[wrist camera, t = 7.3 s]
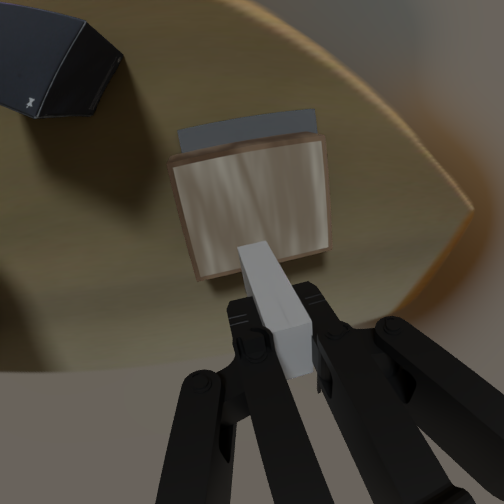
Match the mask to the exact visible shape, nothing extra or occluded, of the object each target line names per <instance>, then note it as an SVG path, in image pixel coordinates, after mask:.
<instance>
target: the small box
mask: <svg viewBox="0 0 504 504" xmlns="http://www.w3.org/2000/svg"><path fill="white" fill-rule="evenodd" d="M122 58H123V54H122V53H121V52H120V51H119V50H118V49H116V48H115V47H114V46H113V45H112V44H111V43H110V42H109V41H107V40H106V39H105V38H104V37H103V36H102V35H101V34H100V33H98V32H97V31H96V30H95V29H94V28H93V27H91V26H90V25H89V24H88V23H87V22H86V21H85V20H82V19H78V18H75V17H71V16H67V15H64V14H60V13H56V12H51V11H47V10H42V9H38V8H33V7H28V6H22V5H16V4H10V3H4V2H0V105H2V106H4V107H7V108H9V109H11V110H14V111H16V112H19V113H21V114H23V115H26V116H28V117H31V118H33V119H39V118H55V117H66V116H87V117H90V116H92V115H93V114H94V112H95V110H96V107H97V104H98V102H99V101H100V98H101V96H102V94H103V92H104V91H105V88H106V86H107V84H108V83H109V81H110V79H111V77H112V75H113V74H114V73H115V72H116V70H117V68H118V66H119V64H120V61H121V60H122Z"/></svg>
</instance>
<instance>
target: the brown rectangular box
mask: <svg viewBox="0 0 504 504" xmlns="http://www.w3.org/2000/svg"><path fill="white" fill-rule="evenodd" d="M167 168H168V173H169V177H170V181H171V185H172V190H173V194H174V198H175V202H176V206H177V210H178V214H179V218H180V222H181V225H182V229H183V233H184V237H185V240H186V244H187V248H188V251H189V255H190V259H191V262H192V266H193V269H194V273H195V276H196V280H197V282H199V281H203V280H208V279H212V278H216V277H221V276H225V275H229V274H234V273H238V272H242V269H241V264H240V259H239V254H238V249H237V247H240V246H244V245H248V244H253V243H257V242H262V241H266V242H267V243H268V245H269V247H270V249H271V250H272V252H273V254H274V256H275V257H276V259H277V261H278V263H280V262H285V261H289V260H293V259H297V258H301V257H305V256H309V255H314V254H318V253H322V252H326V251H330V250H332V222H331V203H330V187H329V173H328V160H327V149H326V139H325V135H321V134H316V133H312V132H307V131H305V132H297V133H290V134H282V135H275V136H269V137H262V138H256V139H250V140H244V141H239V142H233V143H228V144H223V145H218V146H213V147H208V148H203V149H199V150H194V151H190V152H185V153H181V154H177V155H173V156H170V157H169V159H168V162H167Z"/></svg>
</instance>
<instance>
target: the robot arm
mask: <svg viewBox="0 0 504 504" xmlns="http://www.w3.org/2000/svg"><path fill="white" fill-rule="evenodd" d="M237 249H238V254H239V259H240V264H241V269H242V274H243V280H244V285H245V290H246V293H247V296H248V297H246V298H242V299H237V300H233V301H230V302H229V305H228V307H227V314H228V318H229V323H230V328H231V332H232V337H233V343H232V344H233V347H234V351H235V358H234V360H233V361H232V363H231V364H230V365H229V366H227V367H226V368H224V369H222V370H220V371H218V372H217V373H215V372H213V371H211V370H198V371H195V372H193V373H191V374H189V376H187V377H186V378H185V380H184V382H183V384H182V387H181V391H180V395H179V399H178V403H177V407H176V412H175V416H174V420H173V425H172V429H171V433H170V438H169V442H168V446H167V451H166V455H165V460H164V465H163V470H162V474H161V478H160V483H159V488H158V493H157V498H156V503H155V504H230V498H231V485H232V474H233V462H234V450H235V437H236V426H237V422H238V421H240V420H242V419H244V418H246V417H247V416H249V415H251V419H252V423H253V427H254V431H255V434H256V439H257V443H258V446H259V450H260V454H261V458H262V461H263V465H264V469H265V472H266V476H267V480H268V483H269V487H270V490H271V494H272V497H273V501H274V504H334V501H333V499H332V496H331V494H330V491H329V489H328V486H327V484H326V481H325V479H324V476H323V474H322V471H321V468H320V466H319V463H318V461H317V458H316V456H315V453H314V451H313V448H312V445H311V443H310V441H309V438H308V435H307V433H306V430H305V427H304V425H303V422H302V420H301V417H300V414H299V412H298V409H297V407H296V404H295V402H294V399H293V396H292V393H291V391H290V388H289V386H288V383H287V380H288V379H292V378H295V377H299V376H302V375H306V374H309V373H312V372H313V365H314V367H315V369H316V371H317V391H318V393H320V392H321V389H322V392H323V394H324V396H325V398H326V401H327V403H328V405H329V407H330V409H331V411H332V414H333V415H334V418H335V420H336V422H337V424H338V427H339V429H340V431H341V433H342V435H343V437H344V440H345V442H346V444H347V446H348V448H349V451H350V453H351V455H352V457H353V459H354V461H355V463H356V466H357V468H358V470H359V472H360V475H361V477H362V479H363V481H364V483H365V485H366V488H367V490H368V492H369V494H370V496H371V499H372V501H373V503H374V504H476V503H475V501H474V500H473V498H472V496H471V495H470V494H469V492H467V491H466V490H465V489H463V488H459V487H455V486H454V485H453V484H452V483H451V481H450V480H449V478H448V476H447V475H446V473H445V471H444V470H443V468H442V466H441V465H440V463H439V461H438V459H437V458H436V456H435V455H434V453H433V451H432V450H431V448H430V446H429V445H428V443H427V441H426V440H425V438H424V436H423V435H422V433H421V432H420V430H419V428H420V429H421V430H422V431H423V432H424V433H425V434H426V435H428V436H429V437H430V438H431V439H432V440H433V441H434V442H435V443H436V444H437V445H438V446H439V447H441V449H442V450H443V451H445V452H446V453H447V454H448V455H449V456H450V457H451V458H452V459H453V460H454V461H455V462H456V463H458V464H459V465H460V466H461V467H462V468H463V469H464V470H465V471H466V472H467V473H468V474H469V475H470V476H471V477H473V478H474V479H475V480H476V481H477V482H478V483H479V484H480V485H481V486H482V487H483V488H484V489H486V490H487V491H488V492H490V493H491V494H492V495H493V496H495V497H497V498H498V499H500V500H502V501H504V395H503V394H502V393H501V392H500V391H498V390H497V389H496V388H495V387H493V386H492V385H491V384H489V383H488V382H487V381H486V380H484V379H483V378H482V377H480V376H479V375H478V374H477V373H475V372H474V371H472V370H471V369H470V368H468V367H467V366H466V365H465V364H463V363H462V362H461V361H459V360H458V359H457V358H455V357H454V356H453V355H452V354H450V353H449V352H447V351H446V350H445V349H443V348H442V347H441V346H439V345H438V344H437V343H435V342H434V341H433V340H431V339H430V338H429V337H427V336H426V335H424V334H423V333H422V332H420V331H419V330H417V329H416V328H415V327H413V326H412V325H411V324H409V323H408V322H406V321H405V320H403V319H402V318H400V317H395V316H388V317H384V318H382V319H380V320H379V321H378V322H377V323H376V326H375V328H369V329H354V328H352V327H351V326H350V325H349V324H348V323H345V322H343V321H340V320H339V319H338V317H337V316H336V314H335V313H334V311H333V310H332V308H331V307H330V305H329V304H328V302H327V301H326V300H325V298H324V296H323V295H322V294H321V292H320V291H319V289H318V288H317V286H315V285H314V284H312V283H310V282H308V281H307V282H303V283H299V284H295V285H291V284H290V282H289V280H288V278H287V276H286V275H285V273H284V271H283V269H282V268H281V266H280V264H279V263H278V261H277V259H276V257H275V256H274V254H273V252H272V250H271V249H270V247H269V245H268V243H267V242H266V241H262V242H257V243H253V244H248V245H244V246H240V247H237ZM417 426H418V427H419V428H418V427H417Z"/></svg>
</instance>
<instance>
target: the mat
mask: <svg viewBox="0 0 504 504" xmlns="http://www.w3.org/2000/svg"><path fill="white" fill-rule="evenodd" d="M305 131H307V132H312V133H316V134H317V125H316V116H315V109H305V110H295V111H286V112H278V113H270V114H263V115H256V116H249V117H243V118H237V119H231V120H225V121H220V122H215V123H210V124H205V125H200V126H195V127H190V128H186V129H182V130H178V136H179V141H180V146H181V151H182V153H185V152H190V151H194V150H199V149H203V148H208V147H213V146H218V145H223V144H228V143H233V142H239V141H244V140H250V139H256V138H262V137H269V136H275V135H282V134H290V133H297V132H305Z"/></svg>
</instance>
